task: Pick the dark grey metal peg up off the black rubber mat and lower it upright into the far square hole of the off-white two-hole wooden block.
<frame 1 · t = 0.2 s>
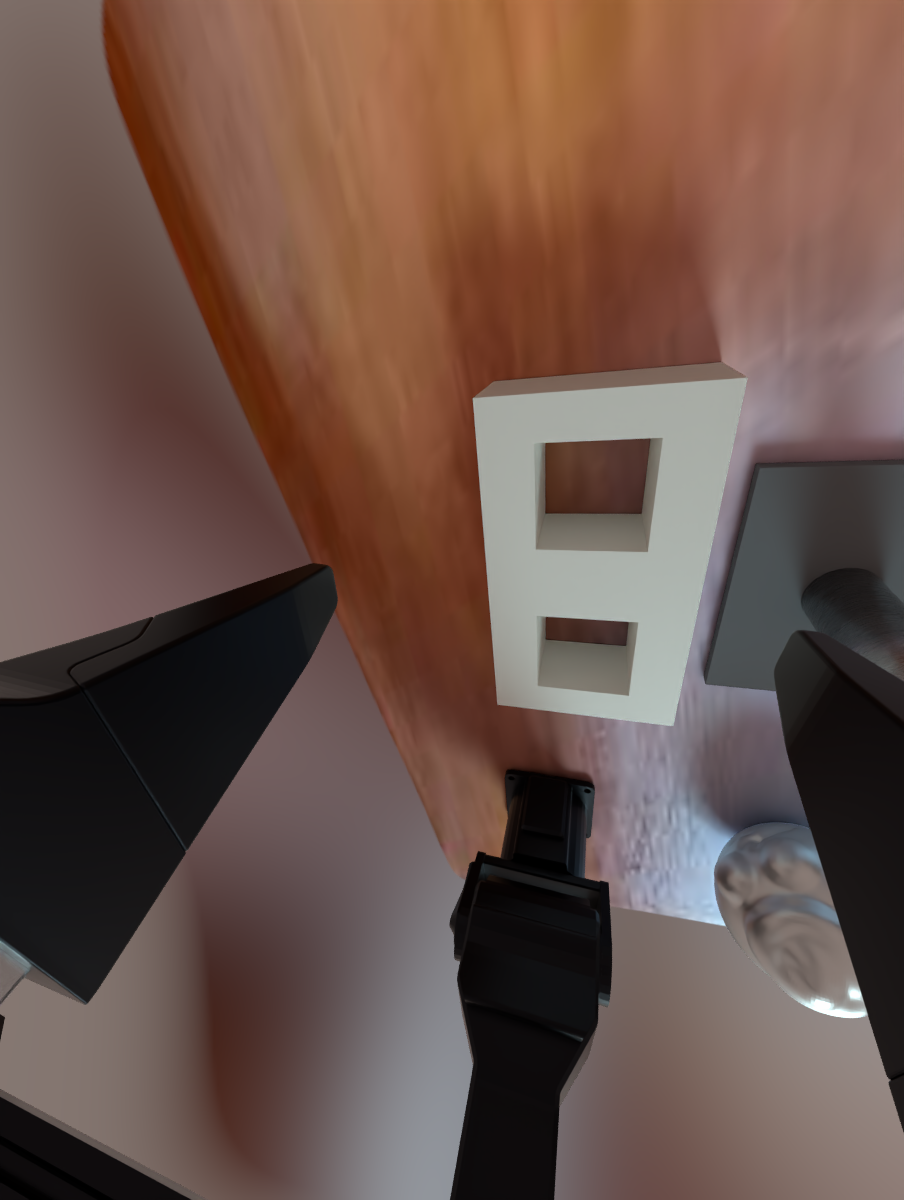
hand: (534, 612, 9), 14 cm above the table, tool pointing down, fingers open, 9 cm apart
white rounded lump: (774, 828, 31), on the table
peg: (841, 596, 21), point 1 cm above the table, touching mat
hole block: (590, 546, 23), on the table
mat: (835, 589, 21), on the table
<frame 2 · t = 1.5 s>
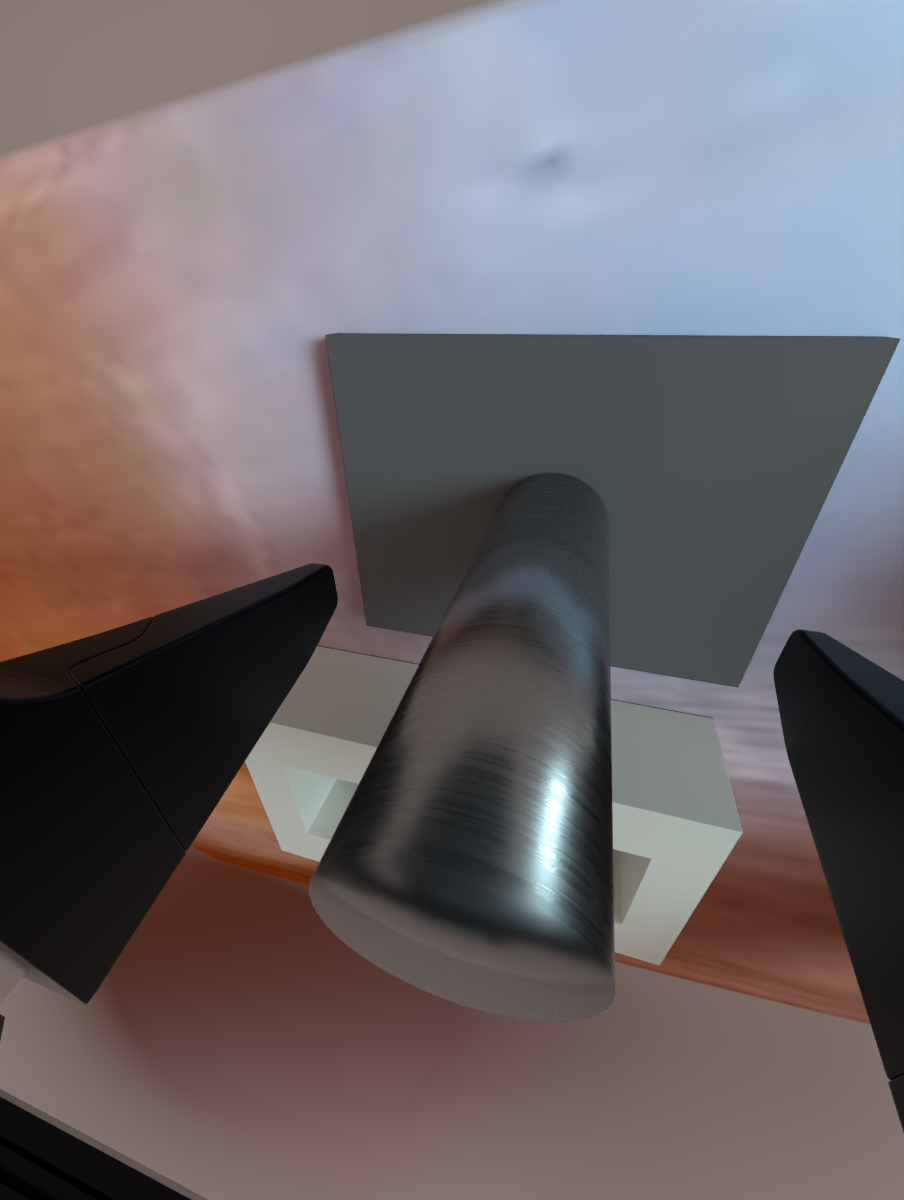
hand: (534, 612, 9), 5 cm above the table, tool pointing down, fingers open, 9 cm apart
peg: (550, 526, 12), point 1 cm above the table, touching mat
hole block: (476, 753, 19), on the table
mat: (552, 518, 13), on the table
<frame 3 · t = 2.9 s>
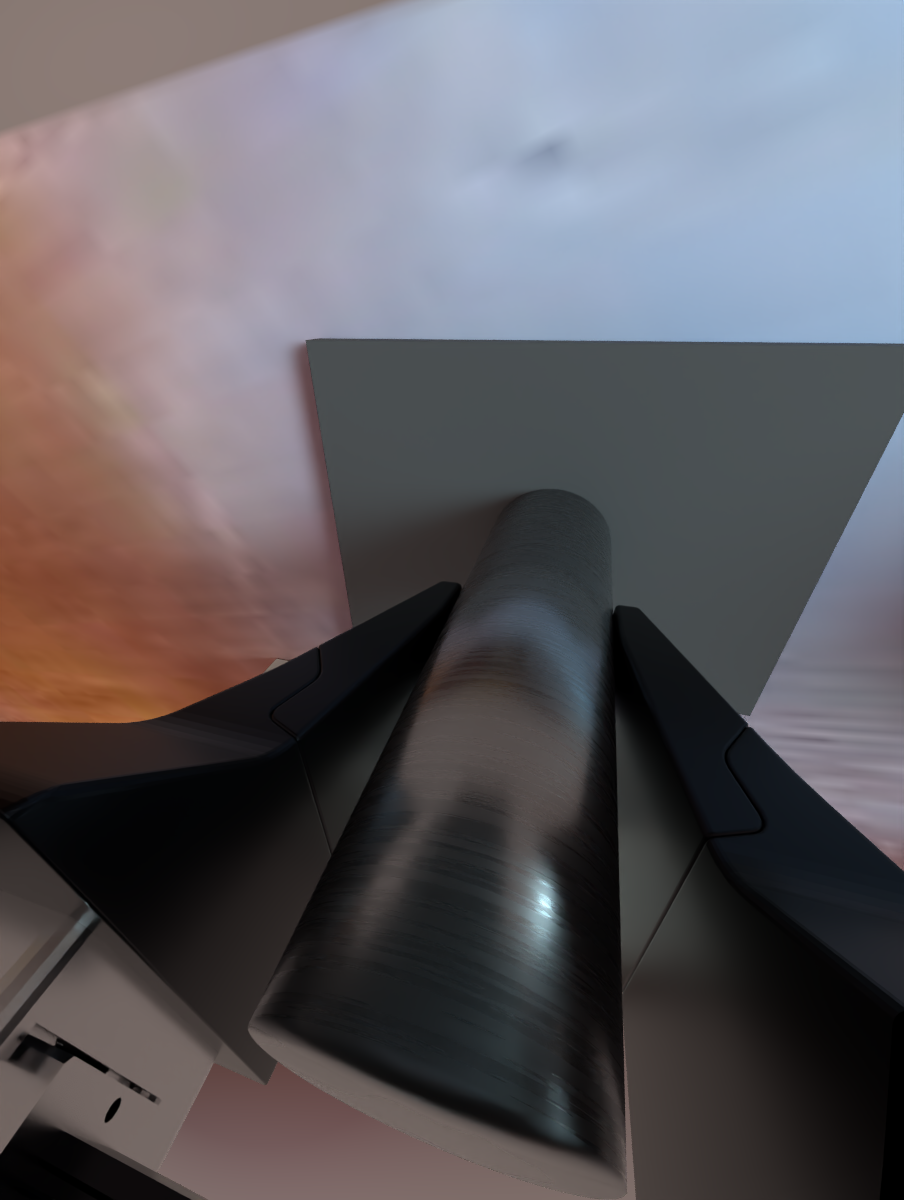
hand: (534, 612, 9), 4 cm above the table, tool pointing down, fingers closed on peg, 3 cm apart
peg: (548, 546, 12), point 1 cm above the table, touching gripper, mat
mat: (551, 536, 12), on the table
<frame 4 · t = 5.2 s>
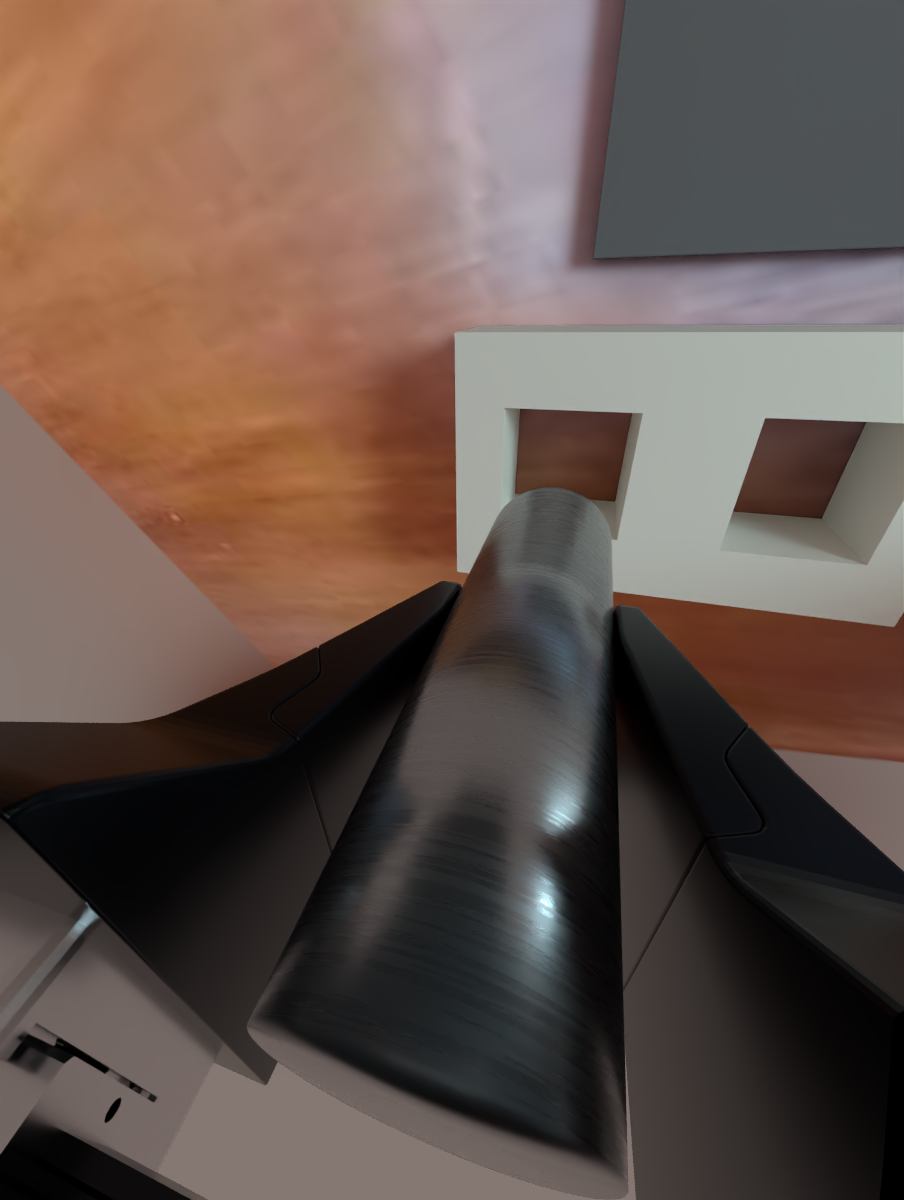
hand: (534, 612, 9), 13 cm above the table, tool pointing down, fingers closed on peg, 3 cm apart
peg: (549, 544, 12), point 10 cm above the table, touching gripper
hole block: (669, 453, 19), on the table
mat: (853, 39, 12), on the table
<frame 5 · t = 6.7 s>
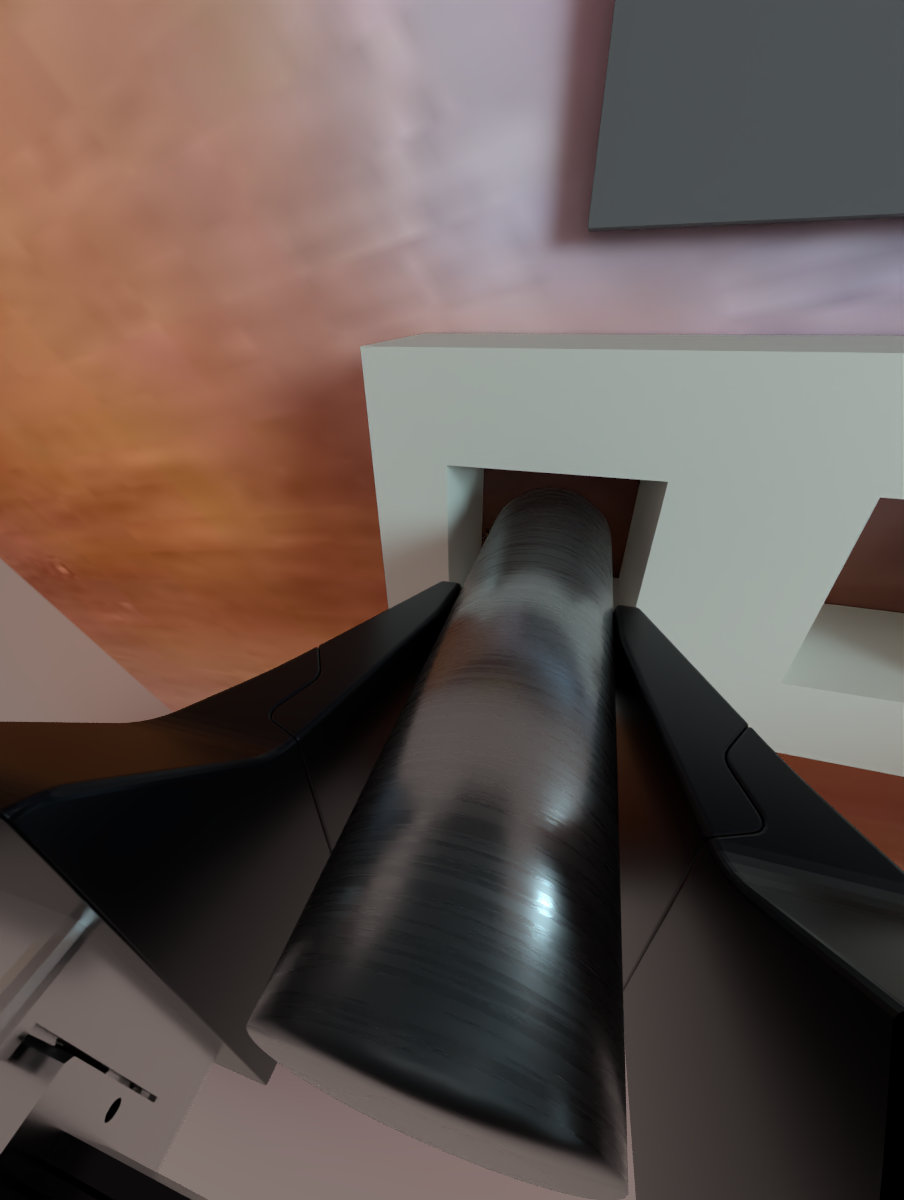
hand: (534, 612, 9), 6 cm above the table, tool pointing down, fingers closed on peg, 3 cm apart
peg: (549, 545, 12), point 3 cm above the table, touching gripper
hole block: (698, 518, 13), on the table
when the fingers open (5 cm above the table, at t = 7.9 s): peg drops 2 cm, resting in hole block.
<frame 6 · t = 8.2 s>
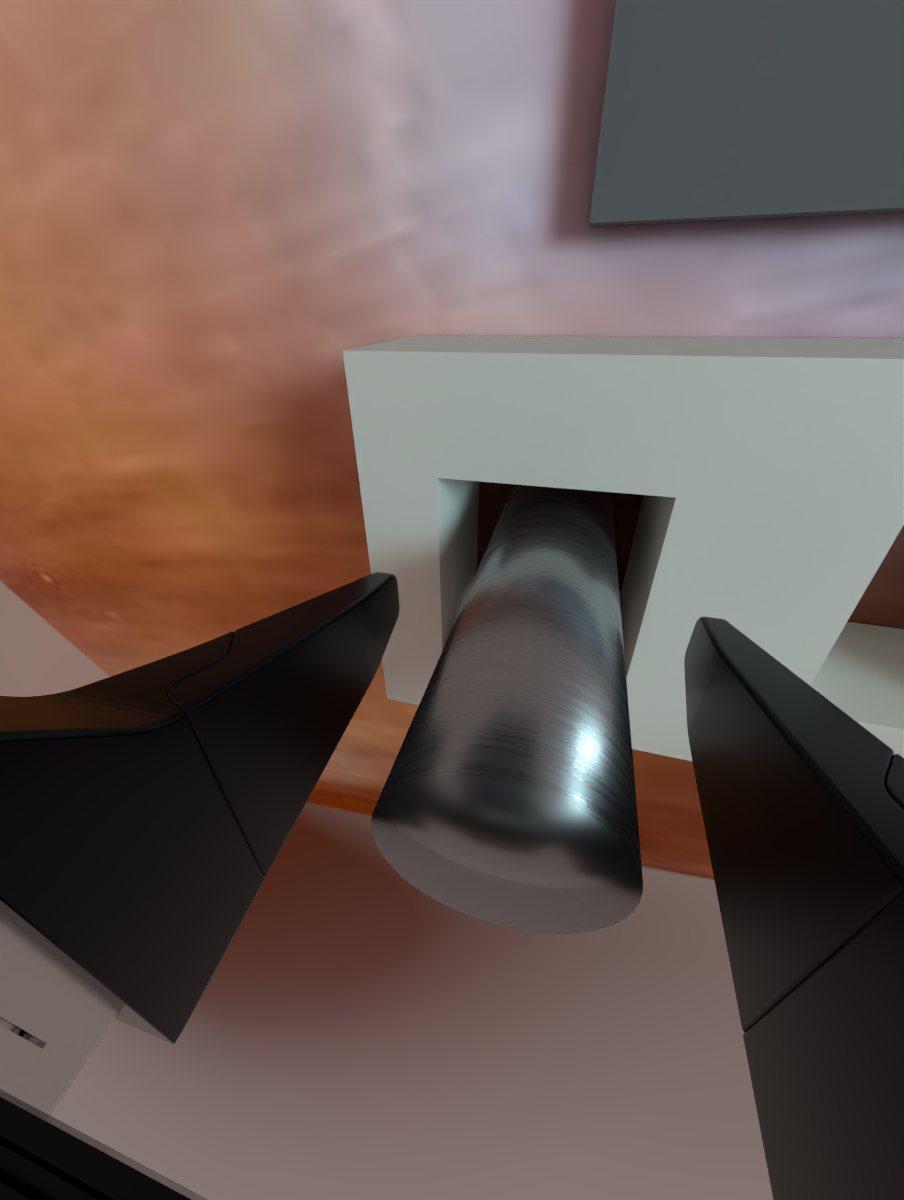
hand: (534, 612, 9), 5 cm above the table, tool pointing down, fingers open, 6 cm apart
peg: (557, 515, 13), resting in hole block
hole block: (705, 530, 12), on the table
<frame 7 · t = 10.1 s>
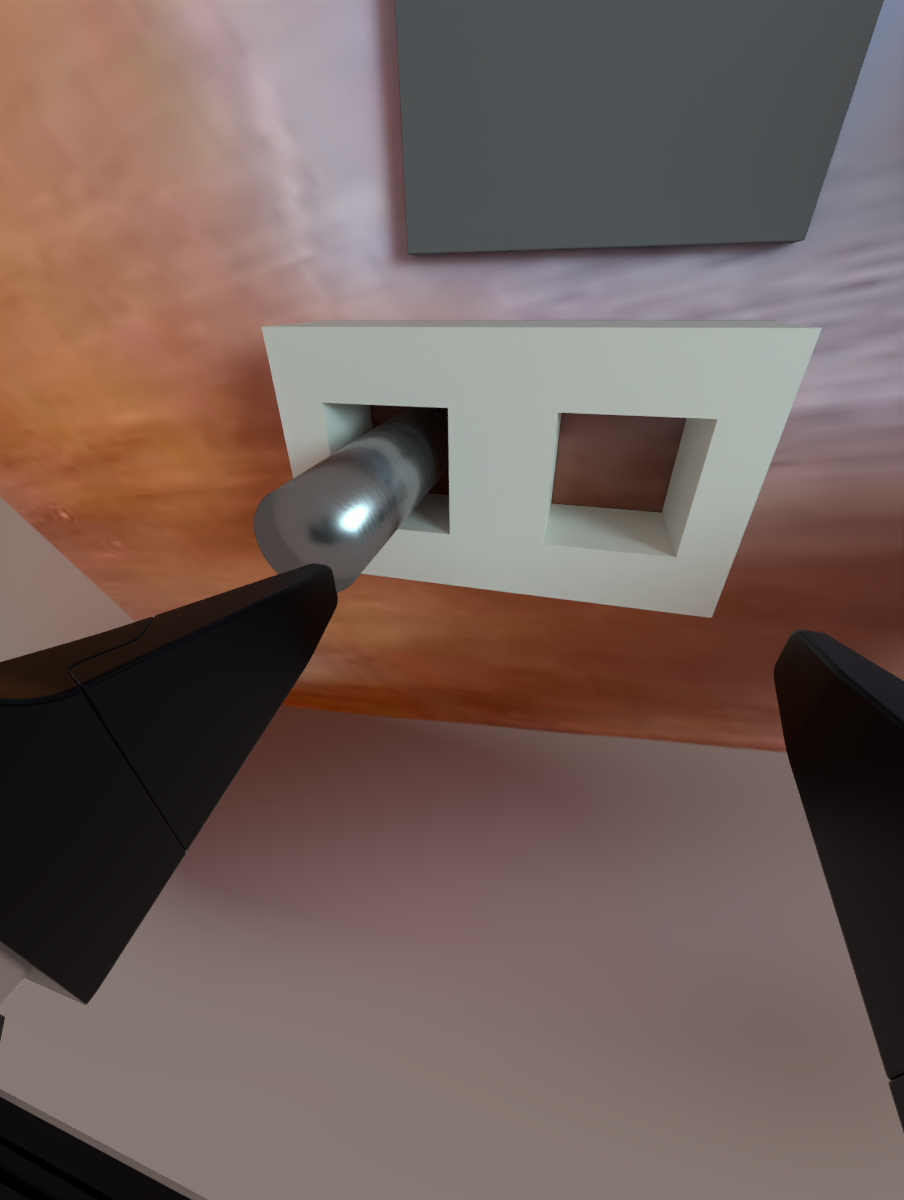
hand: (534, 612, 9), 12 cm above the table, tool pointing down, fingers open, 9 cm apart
peg: (423, 441, 20), resting in hole block
hole block: (514, 448, 19), on the table
mat: (614, 39, 12), on the table
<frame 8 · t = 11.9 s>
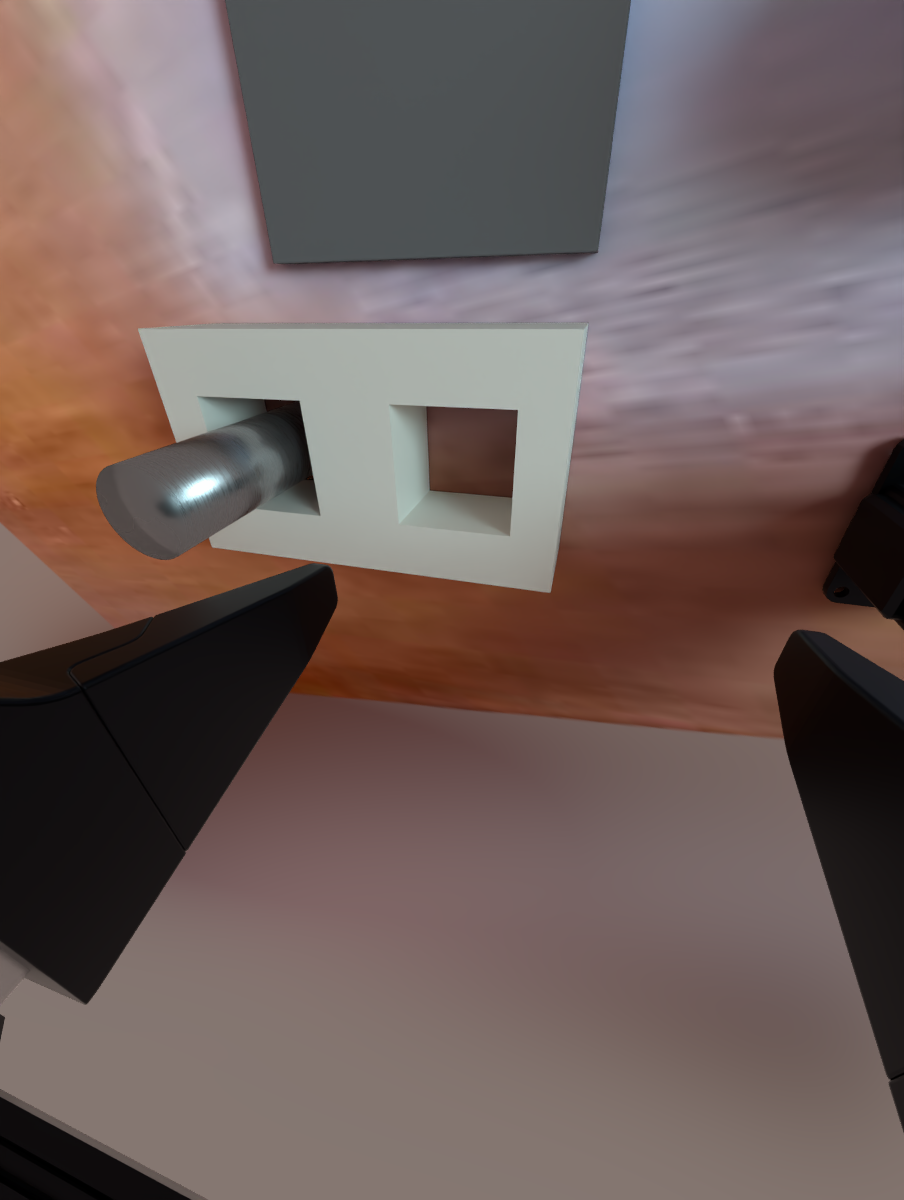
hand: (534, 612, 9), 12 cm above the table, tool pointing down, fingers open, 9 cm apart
peg: (314, 433, 21), resting in hole block
hole block: (391, 439, 21), on the table
mat: (420, 77, 14), on the table
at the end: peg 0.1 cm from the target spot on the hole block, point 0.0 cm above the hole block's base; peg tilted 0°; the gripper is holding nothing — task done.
